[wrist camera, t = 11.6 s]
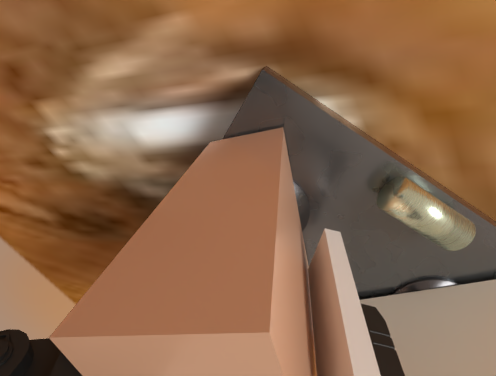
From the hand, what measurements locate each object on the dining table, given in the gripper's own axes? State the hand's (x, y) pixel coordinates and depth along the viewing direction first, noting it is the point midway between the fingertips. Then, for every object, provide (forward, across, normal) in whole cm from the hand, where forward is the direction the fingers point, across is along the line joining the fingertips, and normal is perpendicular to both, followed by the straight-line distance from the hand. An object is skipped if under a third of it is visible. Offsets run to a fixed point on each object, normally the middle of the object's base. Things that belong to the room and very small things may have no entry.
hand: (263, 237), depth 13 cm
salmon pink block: (+2, 0, 0) cm, 2 cm away
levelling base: (+5, +6, -2) cm, 7 cm away
